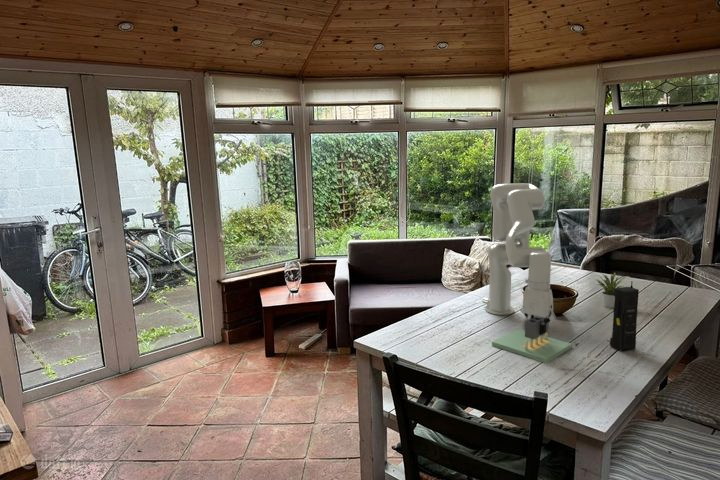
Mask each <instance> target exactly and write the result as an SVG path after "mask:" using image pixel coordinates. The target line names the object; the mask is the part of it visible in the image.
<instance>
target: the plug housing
mask: <svg viewBox="0 0 720 480" xmlns="http://www.w3.org/2000/svg"><path fill="white" fill-rule="evenodd" d="M549 317H550V315H549V316H548V318H549ZM540 324H541V317H537V316H534V317H533V318H531V319H529V320H527V319H526V320H525V321H524V330H525V337H527V338H531V339H536V338H537V337H539V336H541V335H540ZM549 324H550V321H549V322H548V323H547V324H546V332H545V333H547V332H548V333H549V329H550V325H549ZM545 333H544V334H543V335H545Z"/></svg>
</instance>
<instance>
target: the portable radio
mask: <svg viewBox="0 0 720 480" xmlns="http://www.w3.org/2000/svg"><path fill="white" fill-rule="evenodd" d="M633 283H634V281H630V284H631V285H630V286H623V287H620V288H617V287H616V288H614V294H613V295H614V296H615V303H614V308H613V319H612V331H611V332H612V333H611V337H610V339H609V340H610V341H609V345H610V347H612V348H614V349H616V350H618V351H620V352H626V351H631V350H635V349H637V343H636V340H637V324H638V322H637V321H638V320H637V319H638V305H639V294H640V293H639V292H640V291H639V289H638V288H634V287H633Z"/></svg>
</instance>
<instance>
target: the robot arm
mask: <svg viewBox="0 0 720 480" xmlns="http://www.w3.org/2000/svg"><path fill="white" fill-rule="evenodd" d="M489 197H490V203H491V206H492V213H493V215H492V237H493V239H494V240H495V241H497V242H504V243H495V244H492V245H490V246H489V247H488V250H487V257H488V265H489V290H488V291H489V293H488V297H489V298H486V297H484V298H483V300H482V304H486V306H485V311H486V312H487V313H489V314H493V315H496V316H498V315H499V316H500V315H501V316H505V315H511V314H513V313H514V311H515V309H514V308H513V307H512V306H511V300H512V299H511V298H512V296H511V295H512V294H511V293H512V273H511V271H510V269H509V268H508V267H507V265H511V266H512V267H514V268H528V278H526V279H525V280H524V282H525V283H526V284H527V286H525V289H524V293H523V298H522V307H521V309H520V313H522V314H523V315H524V316H525V318H526V321H527V320H529V319H531V318H533V317H535V316H537V317H541V324H540V335H543V336H544V335H545V334H544V333H545V332H546V324H547V323H548V322H549V323H550V322H552V321H555V320H556V319H557V316H556V315H555V312H554V297H553V292H552V291H553V290H552V288H551V269H552V255H551V253H550V252H549V251H547V250H546V249H545V248H544V247H541V246H530V237H531V236H530V235H531V231H530V230H531V229H533V228H534V226H535V224H536V220H535V216H534V213H533V211H535V210H536V211H537V210H540V209H543V208H544V207H545V206H544V205H545V204H546V203H545V201H546V199H545V195H544V193H543V191H542V190H541V188H539V187H537V186H535V185H534V184H532V183H529V182H526V183H522V182H520V183H517V182H516V183H498V184H495V185H493V186H492V187H491V190H490V193H489ZM548 316H549V318H548Z"/></svg>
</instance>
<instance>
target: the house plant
mask: <svg viewBox="0 0 720 480" xmlns="http://www.w3.org/2000/svg"><path fill="white" fill-rule="evenodd" d="M600 274H601V275H602V276H603V277H604V278H602V277H601V276H599V278H601V280H602V281H603V282H602V281H601V280H600V279H597V278H594V279H595V280H596V282H597V283H598V284H596V286H600V287H601V288H603V291H601V300H602V306H603V307H605V308H608V309H614V303H615V296H614V295H613V294H614V288H621V287H624V286H623V285H619V284H620V283H621V282H624V280H625V279H626V278H629V277H631V276H630V275H629V276H628V275H627V276H623V277H621V278H620V279H619V277H620V275H618V276H617V277H616V274H617V273H616V272H613V274H612V273H610V278H609V276H608V275H606V273H603V272H600ZM614 280H615V281H614Z"/></svg>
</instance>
